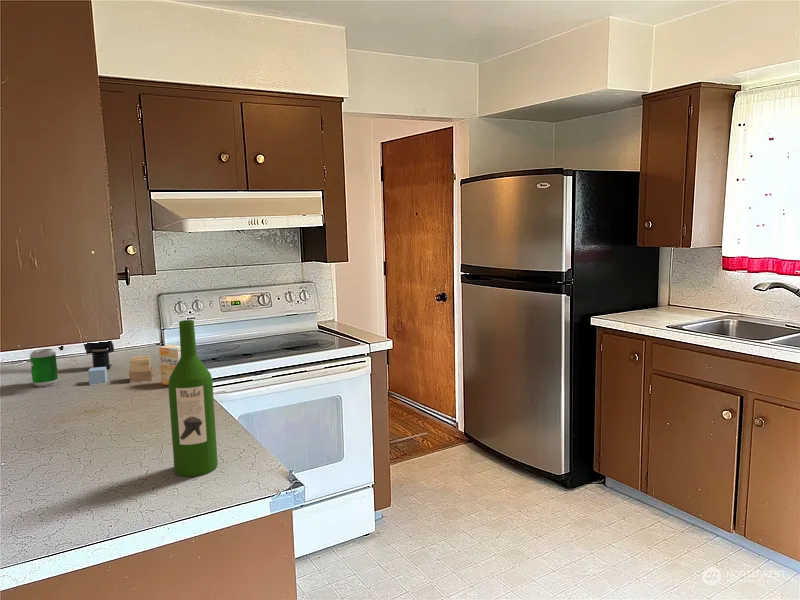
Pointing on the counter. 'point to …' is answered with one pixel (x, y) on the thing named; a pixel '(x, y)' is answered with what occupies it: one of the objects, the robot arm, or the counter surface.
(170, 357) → the supplement box
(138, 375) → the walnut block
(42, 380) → the soda can
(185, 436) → the wine bottle
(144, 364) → the oak block
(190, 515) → the counter surface
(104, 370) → the blue cube
